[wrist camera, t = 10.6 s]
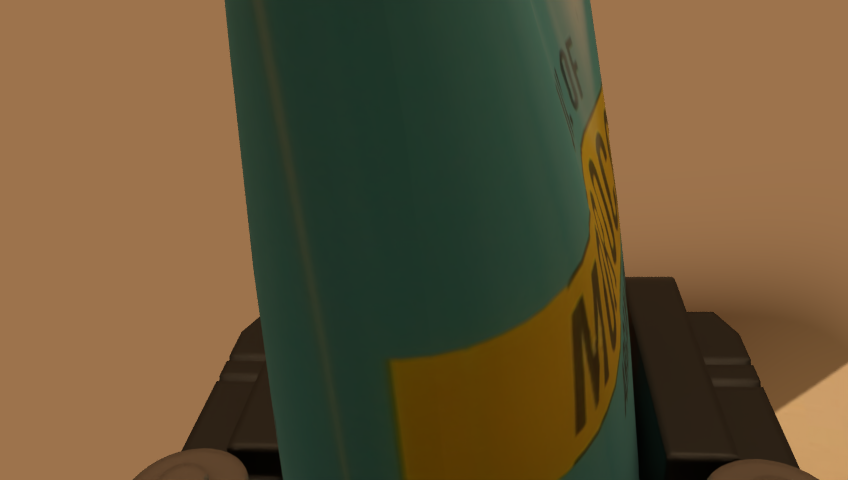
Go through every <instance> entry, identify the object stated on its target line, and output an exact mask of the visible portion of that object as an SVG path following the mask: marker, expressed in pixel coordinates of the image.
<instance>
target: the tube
mask: <svg viewBox="0 0 848 480" xmlns="http://www.w3.org/2000/svg"><path fill="white" fill-rule="evenodd" d="M225 8H226V17H227V28H228V38H229V47H230V57H231V67H232V75H233V85H234V94H235V103H236V113H237V122H238V130H239V140H240V149H241V158H242V168H243V177H244V186H245V195H246V204H247V214H248V223H249V232H250V241H251V250H252V259H253V269H254V276H255V283H256V290H257V298H258V305H259V312H260V320H261V327H262V334H263V342H264V349H265V356H266V363H267V371H268V378H269V385H270V393H271V400H272V407H273V414H274V421H275V428H276V435H277V442H278V448H279V455H280V462H281V469H282V476H283V480H639V463H638V448H637V434H636V419H635V405H634V391H633V376H632V362H631V347H630V334H629V323H628V312H627V299H626V285H625V272H624V262H623V254H622V253H623V252H622V243H621V233H620V223H619V214H618V204H617V195H616V188H615V180H614V174H613V165H612V158H611V150H610V144H609V128H608V122H607V116H606V110H605V102H604V96H603V88H602V82H601V74H600V67H599V61H598V53H597V47H596V39H595V32H594V25H593V19H592V11H591V4H590V0H225Z"/></svg>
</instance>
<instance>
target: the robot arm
mask: <svg viewBox="0 0 848 480" xmlns="http://www.w3.org/2000/svg"><path fill="white" fill-rule="evenodd" d="M625 285H626V299H627V312H628V323H629V334H630V347H631V362H632V376H633V391H634V405H635V419H636V434H637V448H638V463H639V480H819V479H817V478H815V477H814V476H812V475H810V474H809V473H807V472H805V471H802V470H800V468H799V466H798V464H797V462H796V459H795V457H794V455H793V453H792V450H791V448H790V446H789V444H788V442H787V439H786V437H785V435H784V433H783V430H782V428H781V426H780V424H779V422H778V419H777V417H776V415H775V413H774V410H773V408H772V406H771V404H770V402H769V399H768V397H767V395H766V393H765V391H764V388H763V387H761V385H760V380H759V377H758V375H757V373H756V371H755V369H754V366H753V365H751V359H750V357H749V355H748V353H747V351H746V348H745V346H744V344H743V342H742V339H741V337H740V335H739V334H738V333H737V332H736V331H735V330H734V329H732V328H731V327H730V326H729V325H728V324H727V323H726V322H724V321H723V320H722V319H721V318H720V317H719V316H717V315H716V314H715V313H714V312H686V309H685V306H684V304H683V301H682V298H681V295H680V292H679V290H678V287H677V284H676V282H675V279H674V278H673V277H625ZM133 480H283V476H282V469H281V462H280V455H279V448H278V442H277V435H276V428H275V421H274V414H273V407H272V400H271V393H270V385H269V378H268V371H267V363H266V356H265V349H264V342H263V334H262V327H261V320H260V317H259V318H258V319H256V320H255V321H254V322H253V323H252V324H251V325H249V326H248V327H247V328H246V329H245V330H244V331H242V332H241V335H240V336H239V339H238V340H237V342H236V344H235V346H234V348H233V350H232V352H231V354H230V360H229V361H227V362H226V364H225V366H224V368H223V370H222V372H221V374H220V380H219V381H217V382H216V384H215V386H214V388H213V390H212V392H211V394H210V396H209V398H208V400H207V402H206V404H205V406H204V408H203V410H202V412H201V414H200V416H199V417H198V420H197V422H196V423H195V426H194V427H193V429H192V431H191V433H190V435H189V437H188V439H187V441H186V443H185V445H184V447H183V449H182V451H181V452H178V453H175V454H172V455H169V456H167V457H164V458H162V459H160V460H158V461H156V462H155V463H153V464H151V465H150V466H148V467H147V468H146V469H144V470H143V471H142V472H141V473H140V474H138V475H137V476H136V477H135V478H134V479H133Z"/></svg>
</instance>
